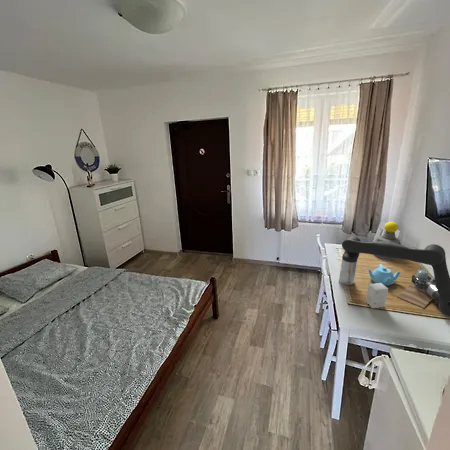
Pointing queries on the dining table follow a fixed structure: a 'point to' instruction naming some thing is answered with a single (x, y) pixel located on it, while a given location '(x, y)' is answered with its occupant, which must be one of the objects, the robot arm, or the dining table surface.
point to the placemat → (415, 296)
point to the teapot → (383, 275)
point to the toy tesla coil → (389, 237)
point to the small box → (376, 295)
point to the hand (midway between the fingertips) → (420, 276)
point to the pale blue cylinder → (421, 277)
